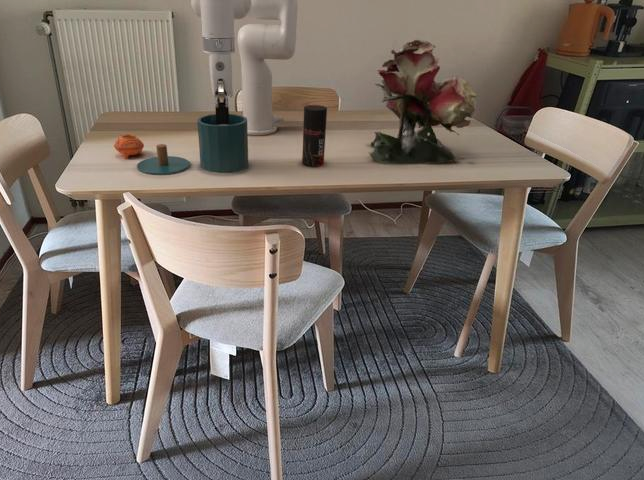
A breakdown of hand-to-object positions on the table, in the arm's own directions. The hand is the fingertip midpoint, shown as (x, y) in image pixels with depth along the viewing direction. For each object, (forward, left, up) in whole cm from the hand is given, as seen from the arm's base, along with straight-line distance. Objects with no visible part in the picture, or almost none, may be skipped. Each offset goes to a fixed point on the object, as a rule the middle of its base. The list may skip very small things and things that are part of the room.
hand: (222, 118), depth 127 cm
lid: (+14, -8, -12) cm, 20 cm away
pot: (+17, -22, -13) cm, 31 cm away
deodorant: (-21, +12, -13) cm, 27 cm away
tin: (0, 0, -13) cm, 13 cm away
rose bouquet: (-53, +20, -13) cm, 58 cm away
